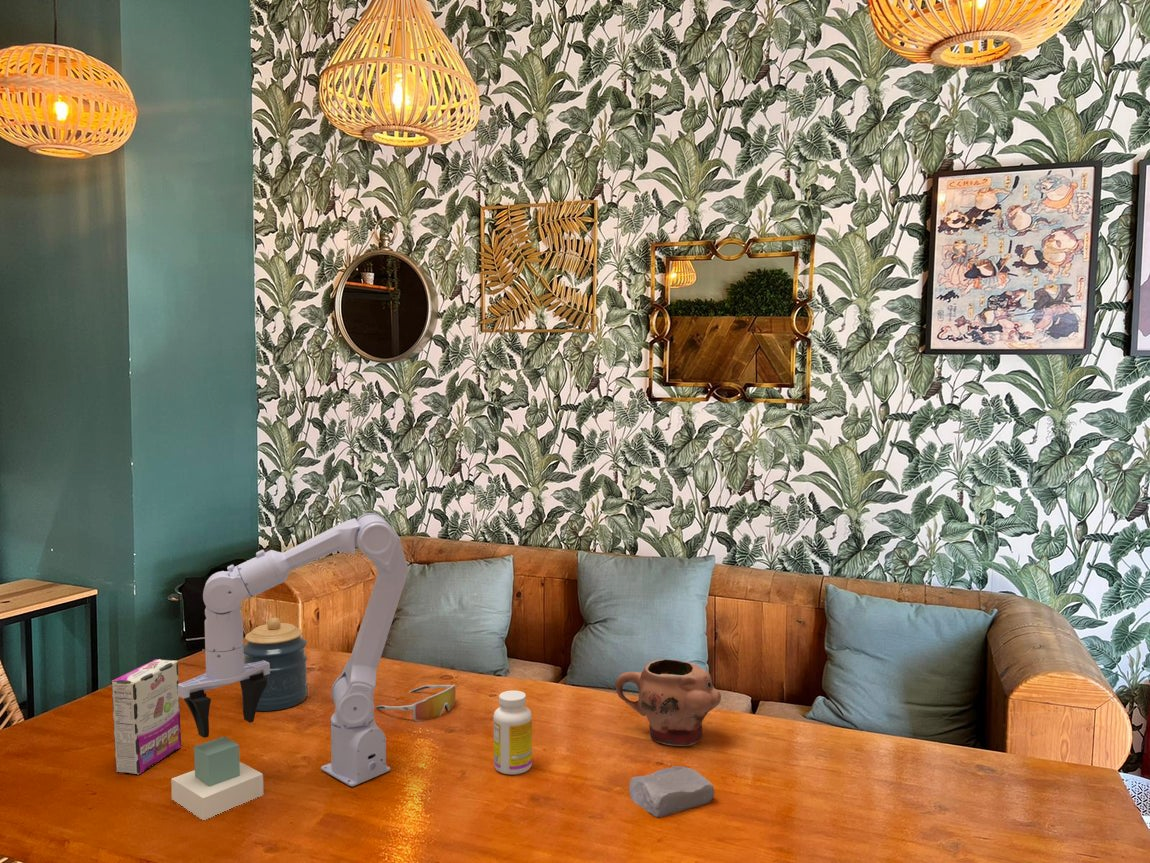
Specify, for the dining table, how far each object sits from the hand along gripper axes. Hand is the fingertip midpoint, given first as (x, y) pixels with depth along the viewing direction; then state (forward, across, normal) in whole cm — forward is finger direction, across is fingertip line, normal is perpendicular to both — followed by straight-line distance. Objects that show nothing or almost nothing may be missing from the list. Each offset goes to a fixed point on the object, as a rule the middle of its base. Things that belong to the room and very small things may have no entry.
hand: (226, 728), depth 135 cm
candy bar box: (+10, +4, -21) cm, 24 cm away
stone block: (+11, -46, +56) cm, 73 cm away
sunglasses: (+11, -43, -4) cm, 44 cm away
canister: (+11, -25, -29) cm, 40 cm away
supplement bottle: (+11, -36, +30) cm, 48 cm away
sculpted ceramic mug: (+11, -64, +43) cm, 78 cm away
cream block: (+11, +2, +1) cm, 11 cm away
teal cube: (+7, +2, +1) cm, 7 cm away
